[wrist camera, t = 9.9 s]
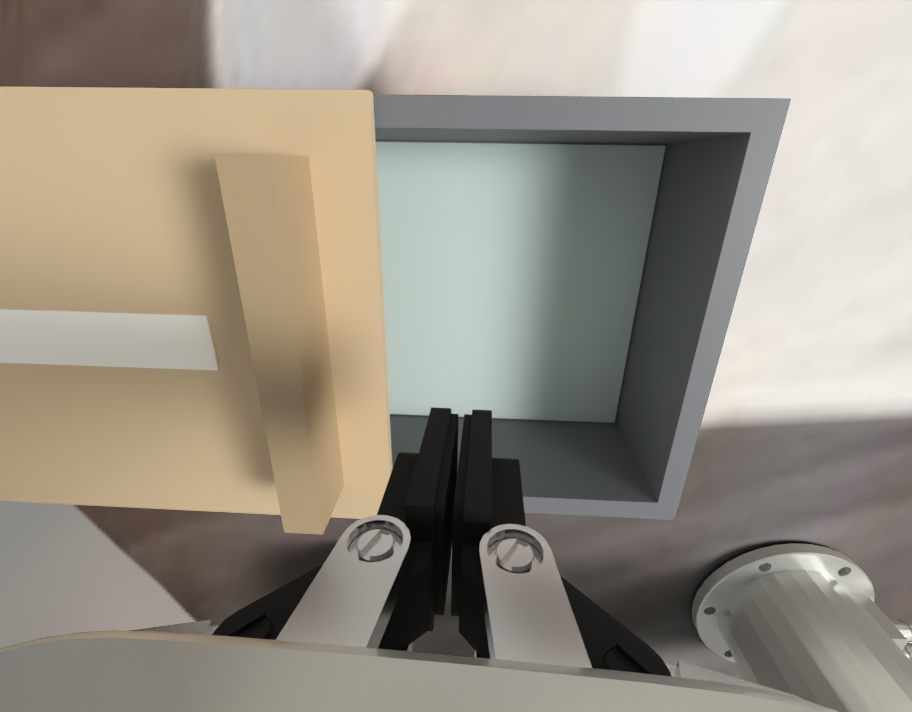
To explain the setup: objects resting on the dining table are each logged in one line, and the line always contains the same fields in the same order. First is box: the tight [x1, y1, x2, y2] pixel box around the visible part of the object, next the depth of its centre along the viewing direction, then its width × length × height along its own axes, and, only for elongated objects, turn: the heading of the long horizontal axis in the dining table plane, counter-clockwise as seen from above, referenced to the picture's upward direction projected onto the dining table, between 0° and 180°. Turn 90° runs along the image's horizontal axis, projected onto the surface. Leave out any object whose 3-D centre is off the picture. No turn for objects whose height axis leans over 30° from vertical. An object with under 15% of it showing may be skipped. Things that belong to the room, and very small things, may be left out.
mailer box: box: [373, 95, 791, 520], centre depth 22 cm, size 24×18×8 cm
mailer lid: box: [0, 87, 393, 534], centre depth 17 cm, size 24×18×4 cm
